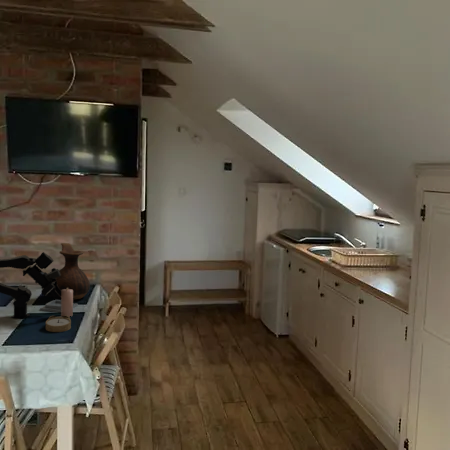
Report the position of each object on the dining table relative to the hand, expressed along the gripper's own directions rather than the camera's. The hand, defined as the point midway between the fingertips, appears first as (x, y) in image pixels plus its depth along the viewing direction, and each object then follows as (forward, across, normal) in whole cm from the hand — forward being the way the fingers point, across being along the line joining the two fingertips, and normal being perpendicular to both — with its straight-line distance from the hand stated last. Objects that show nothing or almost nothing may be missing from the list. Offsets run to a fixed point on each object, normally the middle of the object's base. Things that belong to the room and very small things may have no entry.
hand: (61, 296), depth 253 cm
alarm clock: (+7, -18, +7) cm, 21 cm away
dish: (+5, +14, +8) cm, 17 cm away
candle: (+9, 0, +5) cm, 10 cm away
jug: (+9, +36, +5) cm, 37 cm away
